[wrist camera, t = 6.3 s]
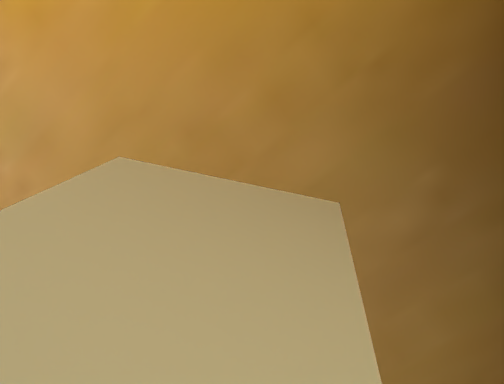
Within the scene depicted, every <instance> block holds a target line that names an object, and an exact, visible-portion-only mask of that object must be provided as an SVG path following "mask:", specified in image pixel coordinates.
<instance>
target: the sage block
mask: <svg viewBox="0 0 504 384" xmlns="http://www.w3.org/2000/svg"><path fill="white" fill-rule="evenodd" d="M0 384H382V382H381V378H380V373H379V369H378V365H377V361H376V356H375V352H374V348H373V344H372V339H371V335H370V331H369V327H368V322H367V318H366V314H365V309H364V305H363V301H362V297H361V292H360V288H359V284H358V280H357V275H356V271H355V267H354V263H353V258H352V254H351V250H350V246H349V241H348V237H347V233H346V228H345V224H344V220H343V216H342V211H341V207H340V203H338V202H333V201H329V200H324V199H319V198H314V197H310V196H305V195H300V194H295V193H290V192H286V191H281V190H276V189H271V188H267V187H262V186H257V185H252V184H247V183H243V182H238V181H233V180H228V179H224V178H219V177H214V176H209V175H204V174H200V173H195V172H190V171H185V170H181V169H176V168H171V167H166V166H161V165H157V164H152V163H147V162H142V161H138V160H133V159H128V158H123V157H117V158H115V159H113V160H111V161H109V162H106V163H104V164H102V165H100V166H97V167H95V168H93V169H91V170H89V171H86V172H84V173H82V174H80V175H78V176H75V177H73V178H71V179H69V180H66V181H64V182H62V183H60V184H58V185H55V186H53V187H51V188H49V189H46V190H44V191H42V192H40V193H38V194H35V195H33V196H31V197H29V198H27V199H24V200H22V201H20V202H18V203H15V204H13V205H11V206H9V207H7V208H4V209H2V210H0Z"/></svg>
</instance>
